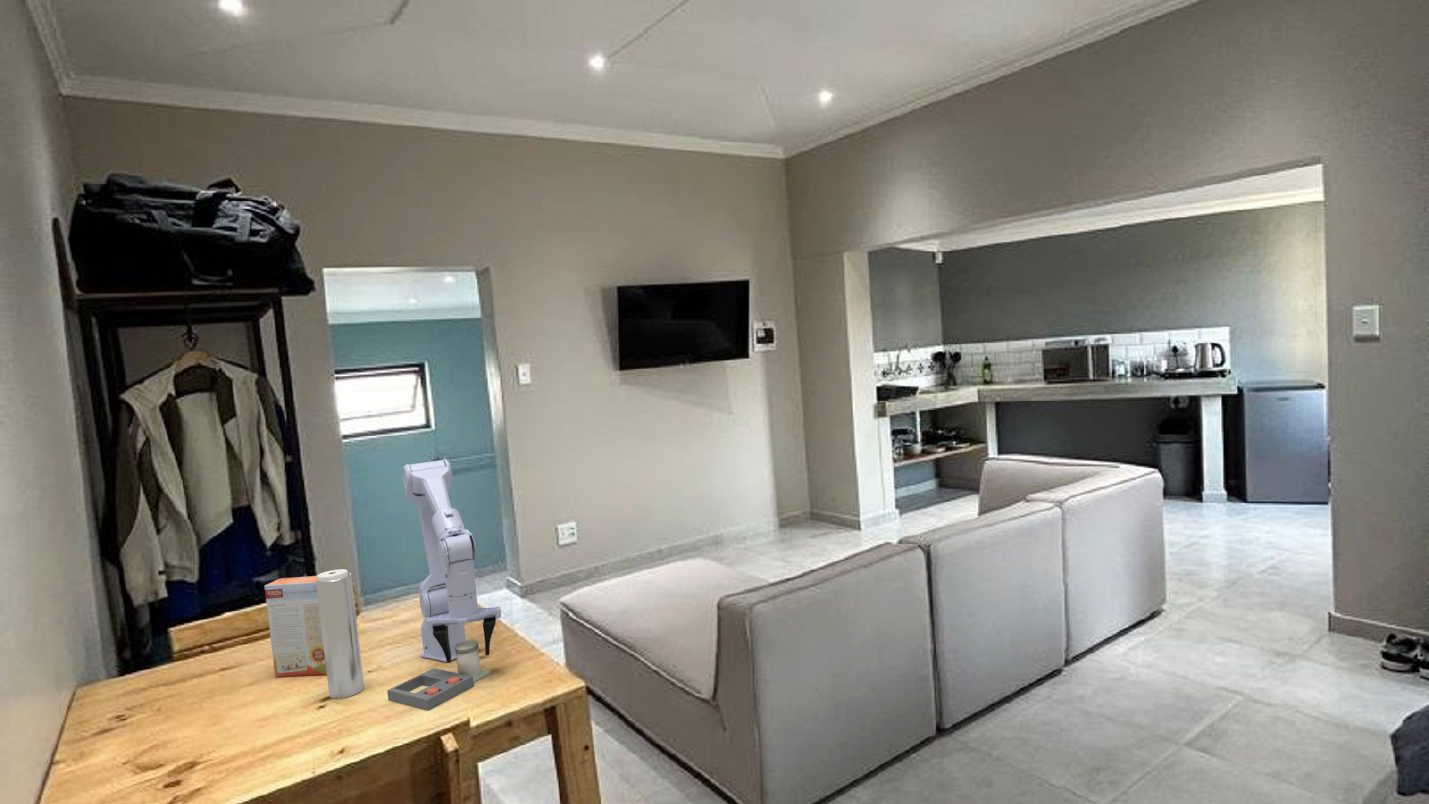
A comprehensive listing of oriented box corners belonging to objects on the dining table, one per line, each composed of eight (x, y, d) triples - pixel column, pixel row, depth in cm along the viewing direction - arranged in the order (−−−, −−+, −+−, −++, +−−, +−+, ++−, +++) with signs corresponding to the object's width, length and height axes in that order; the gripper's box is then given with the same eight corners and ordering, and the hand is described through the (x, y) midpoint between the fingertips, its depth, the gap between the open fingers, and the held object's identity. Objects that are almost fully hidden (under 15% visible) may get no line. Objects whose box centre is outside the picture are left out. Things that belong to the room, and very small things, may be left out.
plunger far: (446, 689, 148) (445, 680, 148) (455, 685, 150) (454, 675, 150) (453, 691, 147) (452, 681, 147) (462, 686, 149) (461, 677, 149)
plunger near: (425, 700, 144) (424, 690, 144) (434, 695, 146) (433, 686, 145) (432, 702, 143) (431, 692, 142) (442, 697, 144) (441, 687, 144)
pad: (451, 680, 154) (451, 677, 154) (471, 670, 158) (470, 667, 158) (470, 684, 151) (469, 681, 151) (489, 673, 155) (489, 671, 155)
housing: (388, 700, 147) (387, 690, 147) (434, 677, 156) (433, 668, 156) (428, 710, 140) (427, 700, 140) (473, 686, 150) (472, 676, 150)
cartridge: (459, 672, 156) (456, 641, 156) (482, 668, 157) (479, 638, 157) (456, 680, 152) (453, 649, 151) (479, 677, 153) (476, 646, 152)
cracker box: (349, 663, 168) (339, 573, 167) (333, 675, 162) (322, 581, 161) (292, 666, 169) (281, 576, 168) (274, 677, 163) (262, 584, 162)
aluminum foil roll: (350, 699, 149) (335, 576, 147) (321, 698, 150) (307, 577, 149) (371, 684, 155) (357, 567, 154) (344, 684, 156) (330, 568, 155)
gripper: (421, 604, 148) (429, 670, 149) (497, 592, 151) (504, 657, 152) (426, 594, 155) (433, 657, 156) (498, 583, 158) (504, 645, 159)
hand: (468, 656), depth 154 cm, fingers open, 7 cm apart
